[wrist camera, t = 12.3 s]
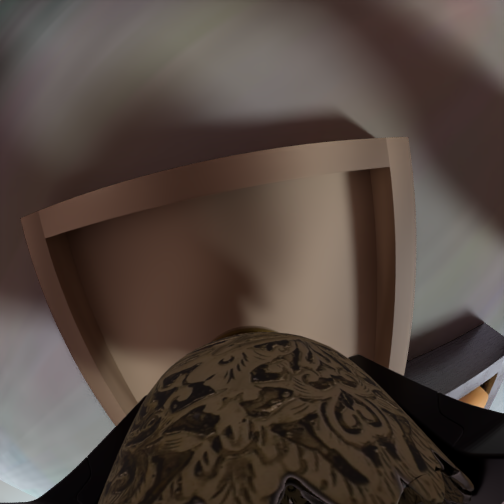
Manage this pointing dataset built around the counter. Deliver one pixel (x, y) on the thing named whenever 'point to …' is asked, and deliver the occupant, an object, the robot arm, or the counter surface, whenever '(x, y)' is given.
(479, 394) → the button
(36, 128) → the counter surface
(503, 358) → the panel
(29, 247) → the wooden tray
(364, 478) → the ornate lamp shade
